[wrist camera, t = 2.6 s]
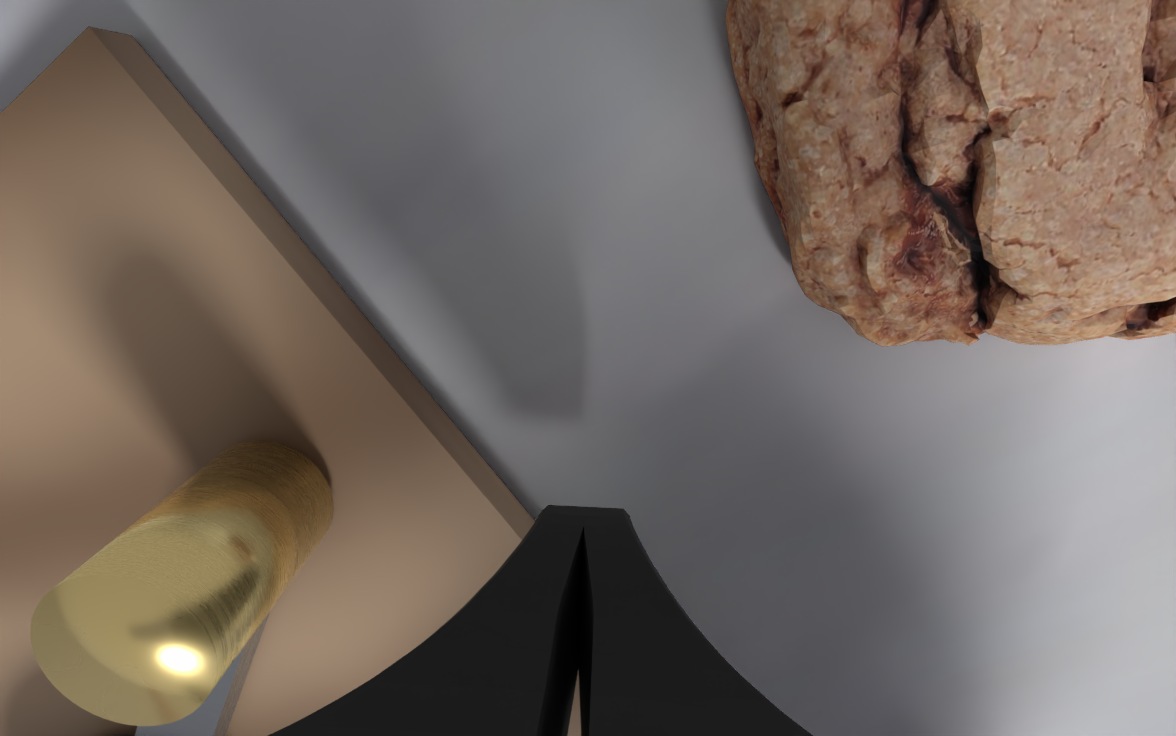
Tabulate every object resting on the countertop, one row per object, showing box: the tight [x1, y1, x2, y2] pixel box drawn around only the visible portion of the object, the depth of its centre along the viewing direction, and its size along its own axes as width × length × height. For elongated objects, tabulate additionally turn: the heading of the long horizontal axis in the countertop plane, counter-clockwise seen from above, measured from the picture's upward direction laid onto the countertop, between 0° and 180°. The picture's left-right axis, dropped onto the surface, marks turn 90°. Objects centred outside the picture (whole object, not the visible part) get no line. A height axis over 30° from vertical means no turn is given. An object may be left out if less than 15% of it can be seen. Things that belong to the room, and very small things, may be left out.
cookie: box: [725, 0, 1176, 347], centre depth 10 cm, size 10×11×3 cm
